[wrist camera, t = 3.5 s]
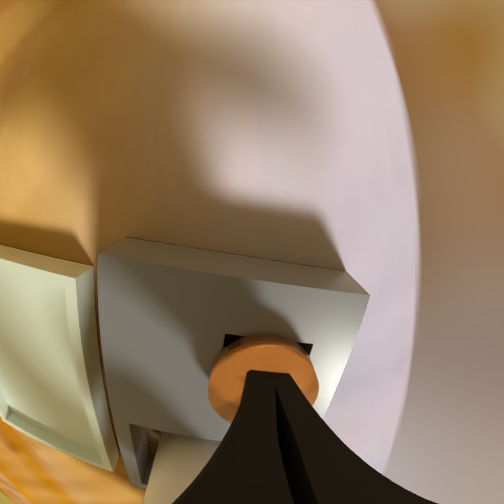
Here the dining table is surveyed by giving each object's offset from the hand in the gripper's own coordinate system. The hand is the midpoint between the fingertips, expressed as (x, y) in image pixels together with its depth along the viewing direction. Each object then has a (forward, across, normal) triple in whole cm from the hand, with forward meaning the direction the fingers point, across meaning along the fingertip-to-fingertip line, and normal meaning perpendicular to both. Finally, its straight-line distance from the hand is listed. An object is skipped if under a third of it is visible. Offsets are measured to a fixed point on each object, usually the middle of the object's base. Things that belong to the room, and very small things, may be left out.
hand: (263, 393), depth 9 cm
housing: (+4, +2, +4) cm, 6 cm away
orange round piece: (+3, 0, 0) cm, 3 cm away
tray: (+4, +12, +5) cm, 14 cm away
